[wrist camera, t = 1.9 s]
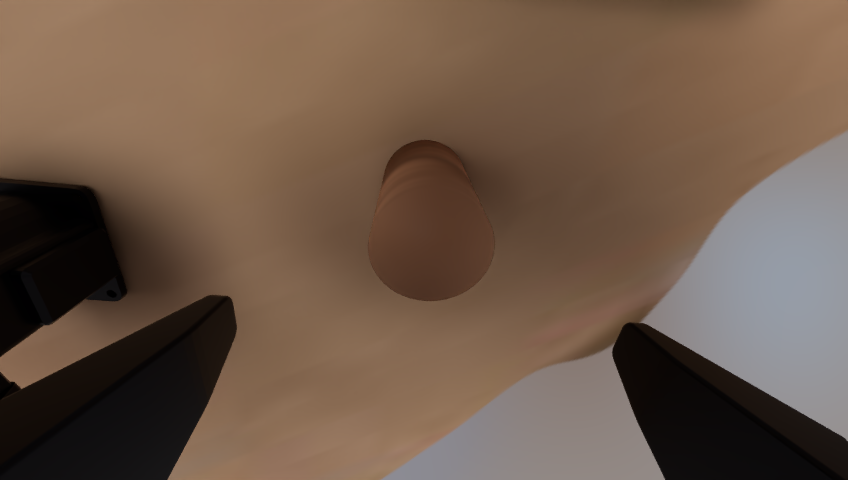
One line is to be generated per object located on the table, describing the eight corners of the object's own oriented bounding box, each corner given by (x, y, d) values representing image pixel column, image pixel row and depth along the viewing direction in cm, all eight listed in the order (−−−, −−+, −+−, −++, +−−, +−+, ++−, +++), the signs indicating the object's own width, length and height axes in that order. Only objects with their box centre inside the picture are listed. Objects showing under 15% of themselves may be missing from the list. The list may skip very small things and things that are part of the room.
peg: (381, 214, 18) (366, 296, 12) (386, 135, 16) (370, 183, 10) (458, 221, 18) (482, 304, 12) (471, 144, 17) (506, 196, 10)
